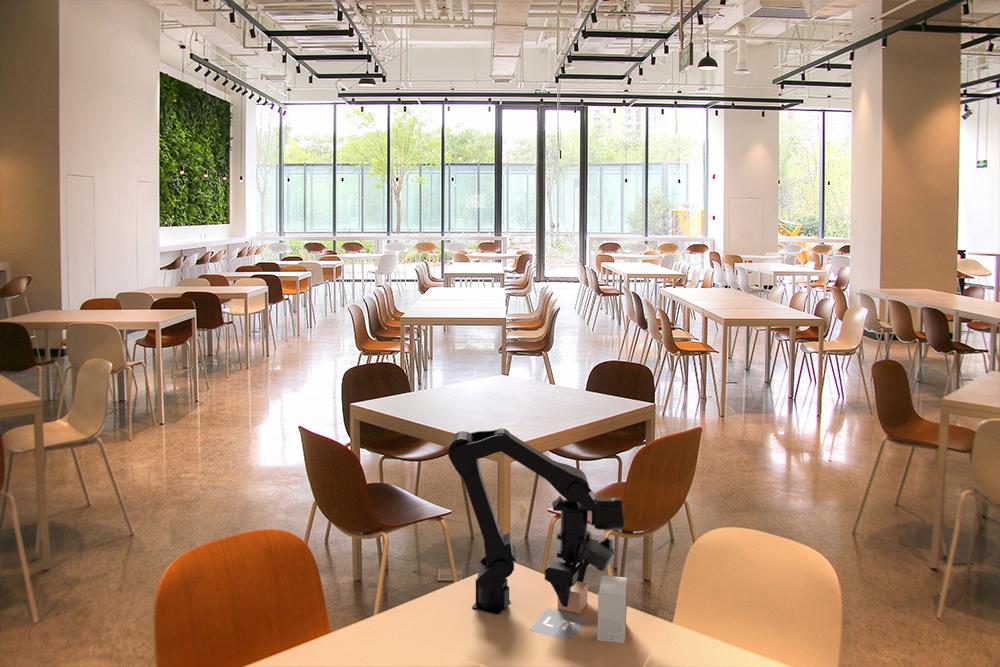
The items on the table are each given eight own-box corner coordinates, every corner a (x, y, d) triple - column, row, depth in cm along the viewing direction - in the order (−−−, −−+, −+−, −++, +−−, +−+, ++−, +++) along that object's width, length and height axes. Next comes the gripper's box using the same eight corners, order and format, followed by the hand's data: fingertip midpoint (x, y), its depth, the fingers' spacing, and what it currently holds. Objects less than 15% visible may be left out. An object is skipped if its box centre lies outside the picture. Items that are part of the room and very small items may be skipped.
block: (557, 609, 167) (557, 588, 166) (565, 599, 172) (566, 578, 171) (579, 615, 165) (579, 593, 164) (587, 604, 169) (587, 583, 169)
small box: (625, 644, 153) (626, 595, 152) (596, 641, 154) (598, 592, 153) (626, 624, 161) (628, 576, 160) (599, 621, 162) (600, 574, 161)
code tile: (528, 631, 158) (528, 630, 158) (547, 609, 167) (547, 608, 167) (570, 641, 154) (570, 640, 154) (586, 618, 163) (586, 617, 163)
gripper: (595, 552, 154) (594, 625, 156) (622, 519, 170) (620, 586, 173) (544, 542, 159) (543, 613, 161) (575, 511, 175) (573, 576, 178)
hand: (572, 596), depth 168 cm, fingers open, 9 cm apart
